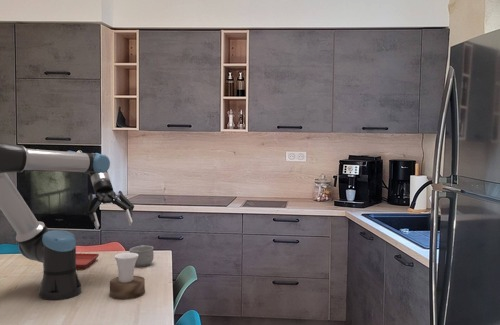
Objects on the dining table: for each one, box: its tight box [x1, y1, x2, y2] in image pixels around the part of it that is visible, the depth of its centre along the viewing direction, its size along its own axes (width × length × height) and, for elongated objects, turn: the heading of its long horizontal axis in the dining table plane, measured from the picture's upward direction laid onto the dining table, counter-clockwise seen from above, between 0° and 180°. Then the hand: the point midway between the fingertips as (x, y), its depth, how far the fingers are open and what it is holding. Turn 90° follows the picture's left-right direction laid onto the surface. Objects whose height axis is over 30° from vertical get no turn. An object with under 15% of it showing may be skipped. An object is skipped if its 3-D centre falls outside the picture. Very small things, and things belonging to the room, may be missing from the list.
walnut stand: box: [109, 275, 146, 300], centre depth 191 cm, size 13×13×5 cm
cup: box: [114, 251, 139, 282], centre depth 191 cm, size 9×9×10 cm
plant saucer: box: [76, 253, 100, 270], centre depth 232 cm, size 18×18×3 cm
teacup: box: [129, 244, 154, 267], centre depth 233 cm, size 14×11×8 cm
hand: (114, 225), depth 201 cm, fingers open, 13 cm apart
